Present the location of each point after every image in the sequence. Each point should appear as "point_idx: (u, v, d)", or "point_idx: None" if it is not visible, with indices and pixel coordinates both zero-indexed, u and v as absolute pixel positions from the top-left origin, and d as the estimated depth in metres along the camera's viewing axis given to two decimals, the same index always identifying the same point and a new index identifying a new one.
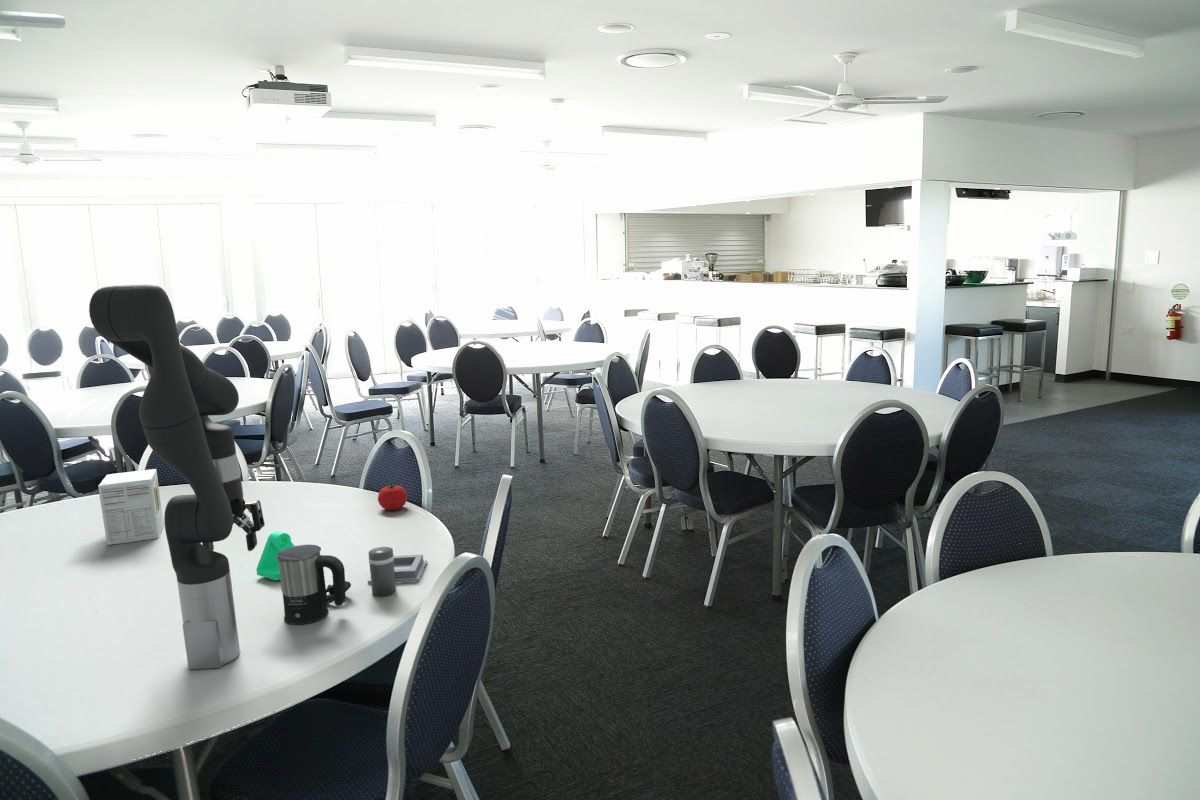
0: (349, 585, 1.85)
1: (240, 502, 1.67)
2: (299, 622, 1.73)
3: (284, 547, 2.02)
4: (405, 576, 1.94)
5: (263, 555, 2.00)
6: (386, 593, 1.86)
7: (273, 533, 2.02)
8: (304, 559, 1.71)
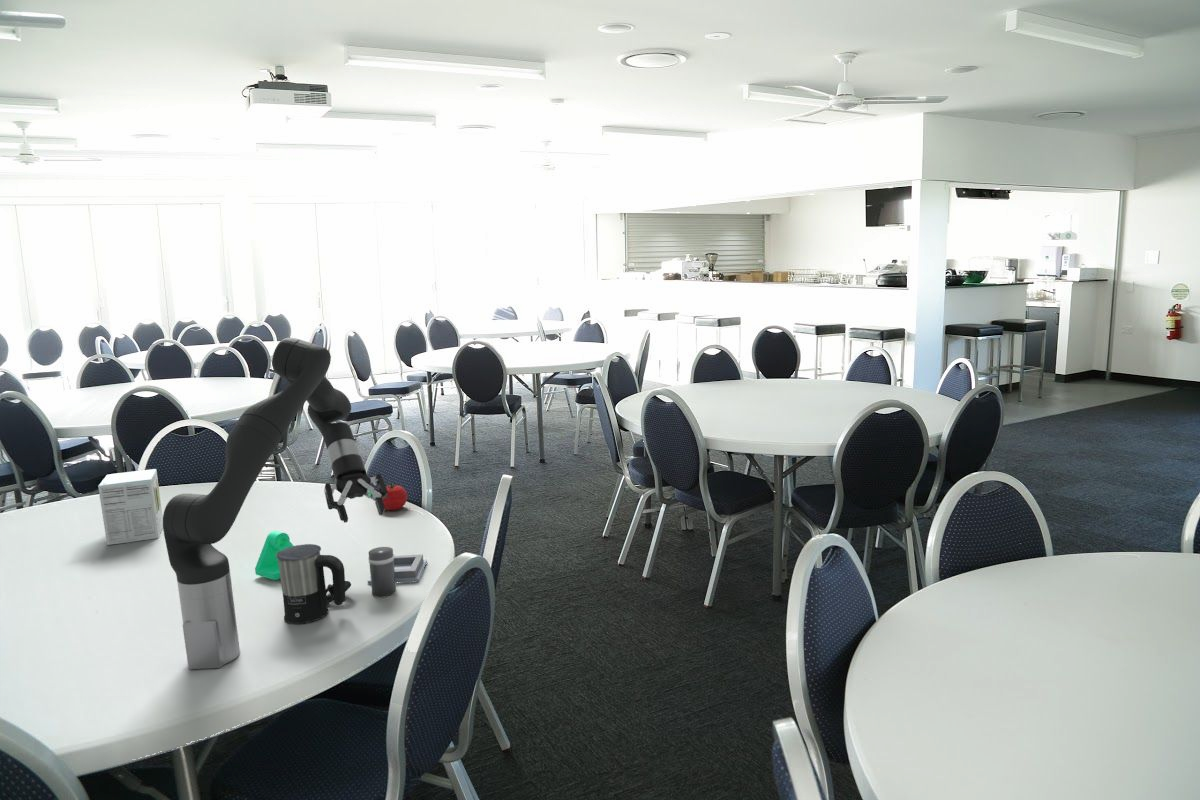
0: (349, 585, 1.85)
1: None
2: (299, 621, 1.73)
3: (283, 547, 2.02)
4: (405, 576, 1.94)
5: (262, 555, 2.00)
6: (386, 593, 1.86)
7: (272, 533, 2.02)
8: (304, 559, 1.72)
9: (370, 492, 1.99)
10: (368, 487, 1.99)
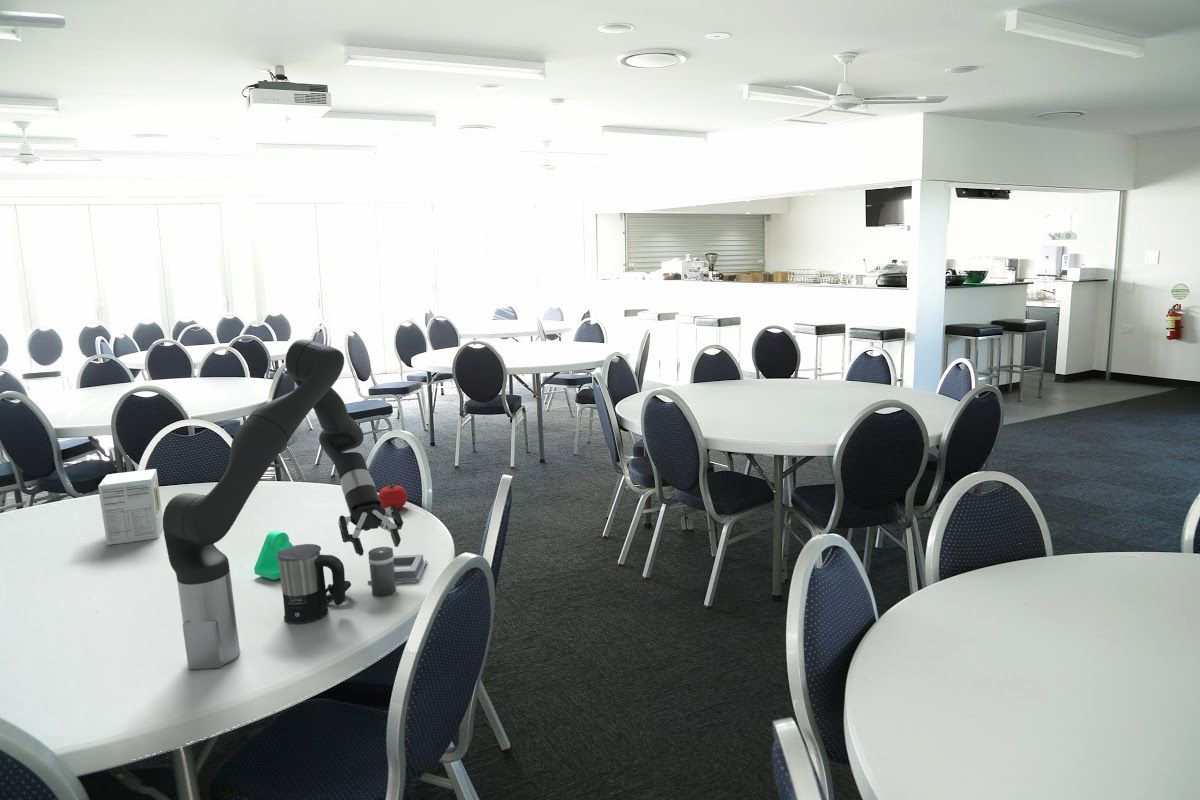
0: (349, 584, 1.85)
1: None
2: (299, 621, 1.73)
3: (282, 546, 2.02)
4: (405, 576, 1.94)
5: (261, 554, 2.00)
6: (386, 593, 1.86)
7: (271, 532, 2.02)
8: (304, 558, 1.72)
9: (385, 523, 1.94)
10: (383, 518, 1.94)
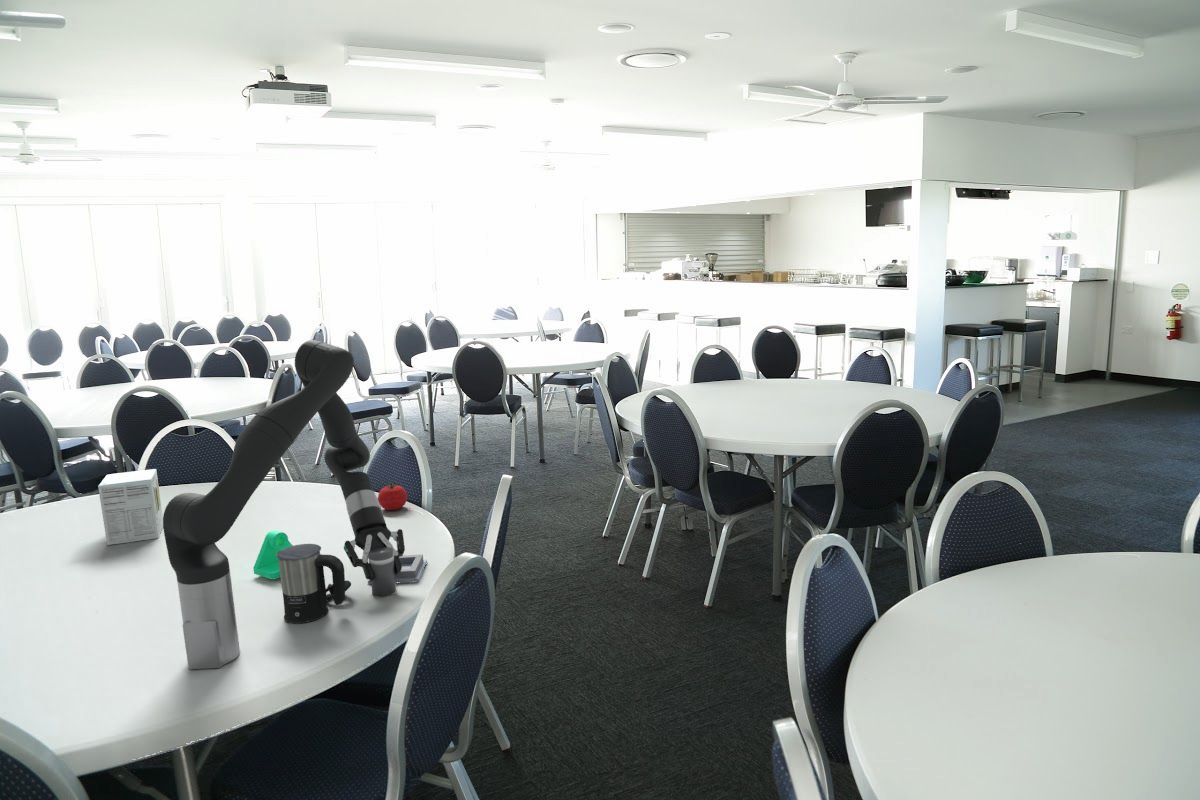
0: (349, 584, 1.85)
1: None
2: (299, 621, 1.74)
3: (281, 546, 2.02)
4: (405, 576, 1.94)
5: (260, 554, 2.00)
6: (386, 593, 1.86)
7: (270, 532, 2.02)
8: (304, 558, 1.72)
9: None
10: (386, 543, 1.89)
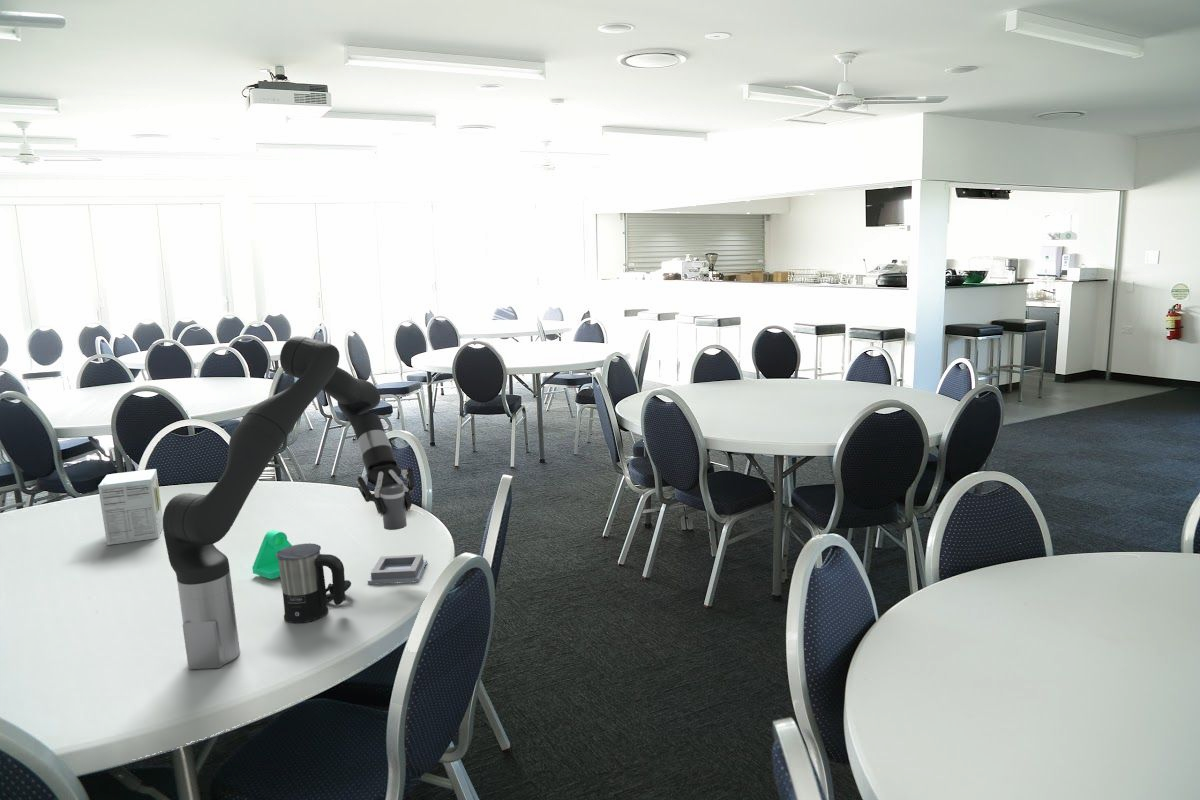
0: (349, 584, 1.85)
1: None
2: (299, 620, 1.74)
3: (280, 546, 2.02)
4: (405, 576, 1.94)
5: (259, 554, 2.01)
6: (397, 526, 1.94)
7: (269, 532, 2.03)
8: (304, 558, 1.72)
9: None
10: (397, 479, 1.98)
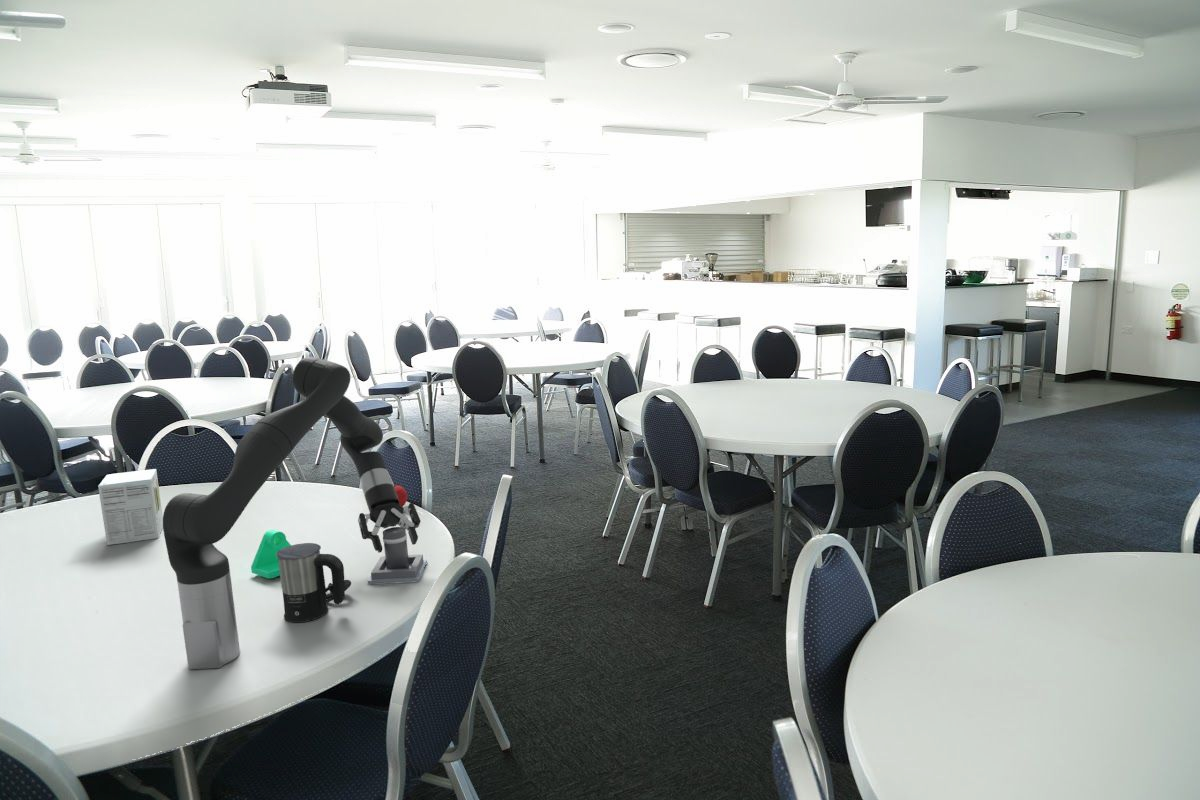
0: (349, 584, 1.86)
1: None
2: (298, 620, 1.74)
3: (279, 545, 2.03)
4: (405, 576, 1.94)
5: (258, 553, 2.01)
6: None
7: (268, 531, 2.03)
8: (303, 557, 1.72)
9: (403, 522, 2.00)
10: (401, 517, 2.00)
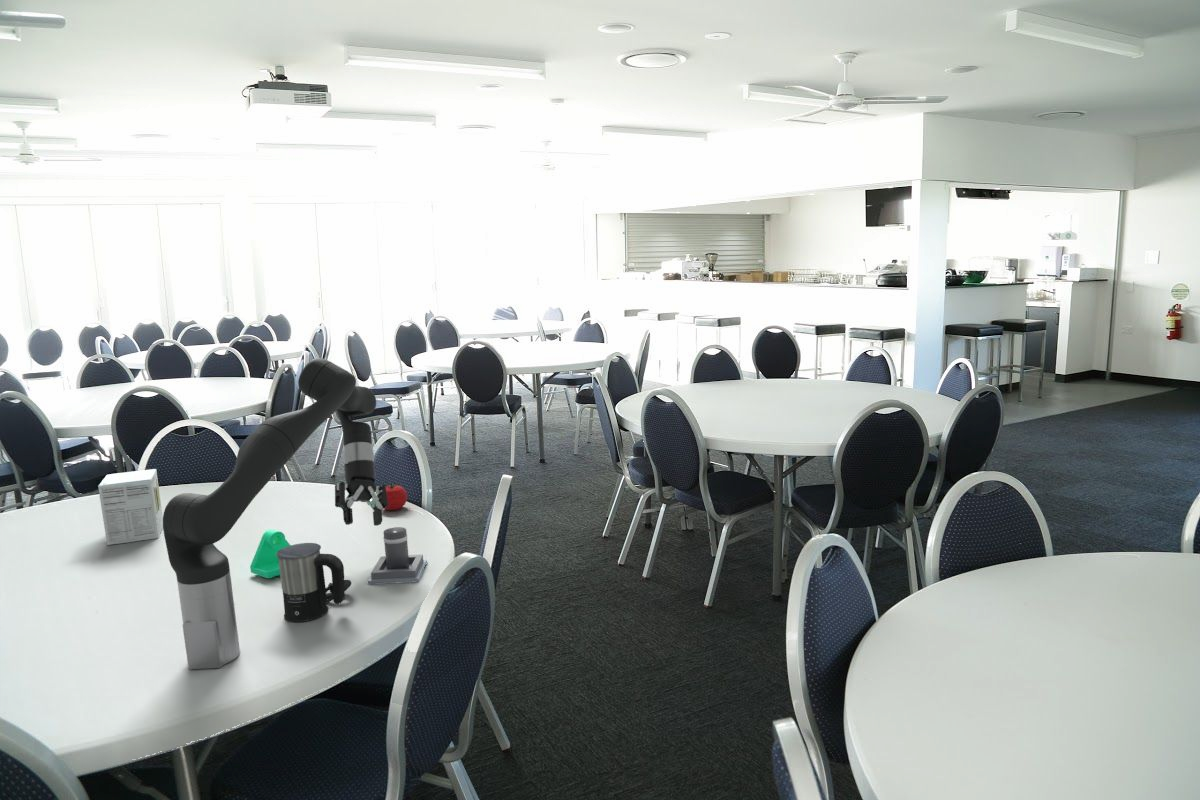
0: (349, 583, 1.86)
1: None
2: (298, 619, 1.74)
3: (278, 545, 2.03)
4: (405, 576, 1.94)
5: (257, 553, 2.01)
6: None
7: (268, 531, 2.03)
8: (303, 557, 1.72)
9: (374, 502, 2.08)
10: (374, 497, 2.08)
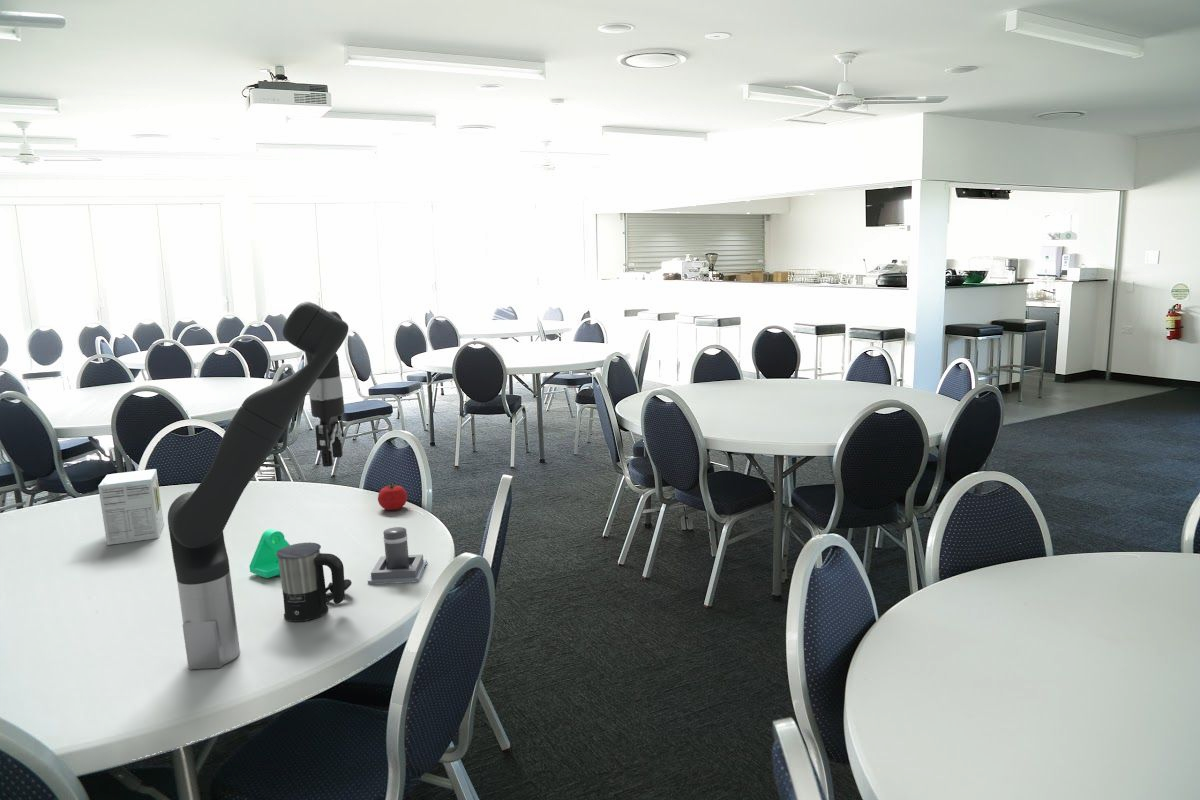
0: (349, 583, 1.86)
1: (320, 421, 1.91)
2: (298, 619, 1.74)
3: (277, 545, 2.03)
4: (405, 576, 1.94)
5: (256, 552, 2.02)
6: None
7: (267, 531, 2.03)
8: (303, 557, 1.73)
9: (338, 435, 1.99)
10: (340, 431, 1.98)
